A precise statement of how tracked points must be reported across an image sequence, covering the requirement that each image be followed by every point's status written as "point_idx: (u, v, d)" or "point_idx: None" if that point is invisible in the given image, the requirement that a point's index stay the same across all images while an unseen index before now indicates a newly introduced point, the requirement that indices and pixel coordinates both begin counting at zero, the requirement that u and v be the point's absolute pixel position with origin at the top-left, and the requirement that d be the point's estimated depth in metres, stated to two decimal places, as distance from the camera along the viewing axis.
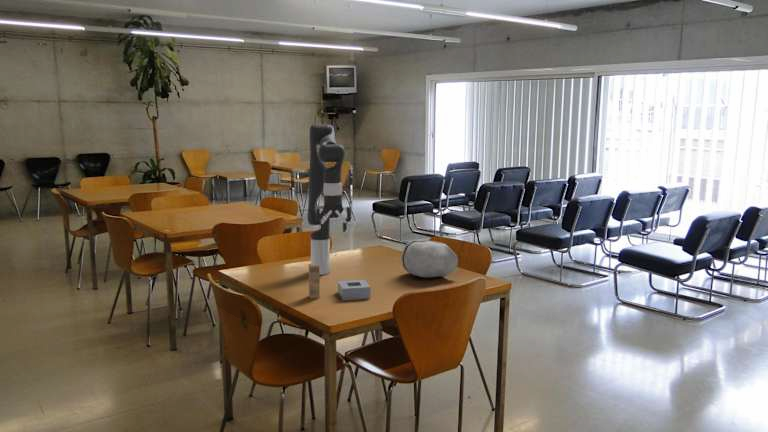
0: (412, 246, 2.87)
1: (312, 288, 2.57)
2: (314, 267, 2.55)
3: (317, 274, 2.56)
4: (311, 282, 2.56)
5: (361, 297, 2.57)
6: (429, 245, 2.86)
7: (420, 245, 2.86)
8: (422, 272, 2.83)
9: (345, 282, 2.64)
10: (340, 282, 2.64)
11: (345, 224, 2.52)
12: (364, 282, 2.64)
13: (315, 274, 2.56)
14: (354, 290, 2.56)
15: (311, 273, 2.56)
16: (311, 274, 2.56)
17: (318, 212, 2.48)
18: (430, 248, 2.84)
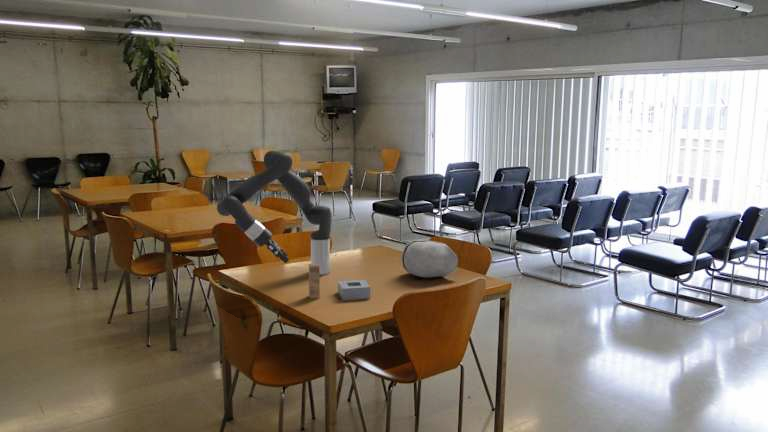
0: (412, 246, 2.87)
1: (312, 288, 2.57)
2: (314, 267, 2.55)
3: (317, 274, 2.56)
4: (311, 282, 2.56)
5: (361, 297, 2.57)
6: (429, 245, 2.86)
7: (420, 245, 2.86)
8: (422, 272, 2.83)
9: (345, 282, 2.64)
10: (340, 282, 2.64)
11: (280, 258, 2.48)
12: (364, 282, 2.64)
13: (315, 274, 2.56)
14: (354, 290, 2.56)
15: (311, 273, 2.56)
16: (311, 274, 2.56)
17: None
18: (430, 248, 2.84)
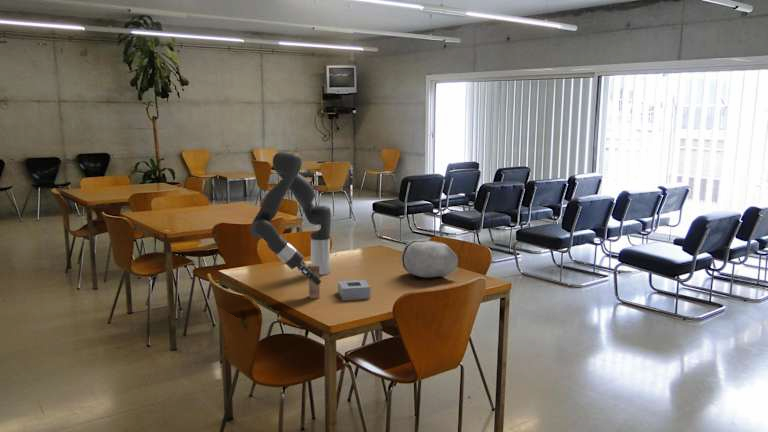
0: (412, 246, 2.87)
1: (312, 288, 2.57)
2: (314, 267, 2.55)
3: (317, 274, 2.56)
4: (311, 282, 2.56)
5: (361, 297, 2.57)
6: (429, 245, 2.86)
7: (420, 245, 2.86)
8: (422, 272, 2.83)
9: (345, 282, 2.64)
10: (340, 282, 2.64)
11: (313, 280, 2.55)
12: (364, 282, 2.64)
13: (315, 274, 2.56)
14: (354, 290, 2.56)
15: None
16: None
17: None
18: (430, 248, 2.84)
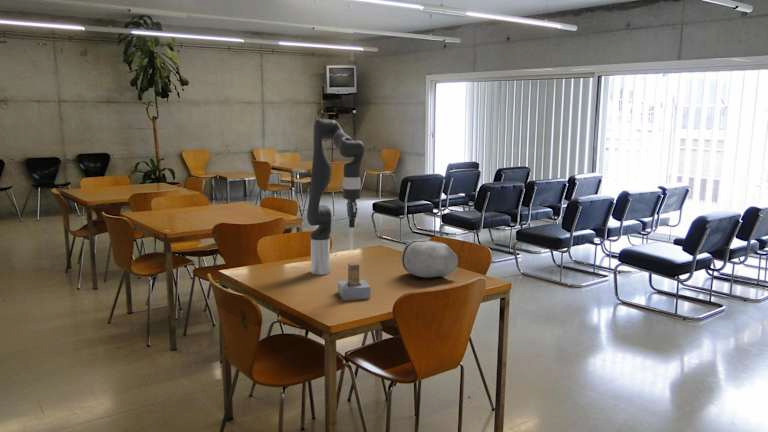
0: (412, 246, 2.87)
1: None
2: (354, 266, 2.58)
3: (357, 273, 2.59)
4: (351, 280, 2.59)
5: (361, 297, 2.57)
6: (429, 245, 2.86)
7: (420, 245, 2.86)
8: (422, 272, 2.83)
9: (345, 282, 2.64)
10: (340, 282, 2.64)
11: (350, 220, 2.61)
12: (364, 282, 2.64)
13: (355, 273, 2.59)
14: (354, 290, 2.56)
15: (351, 272, 2.59)
16: (351, 273, 2.59)
17: None
18: (430, 248, 2.84)
